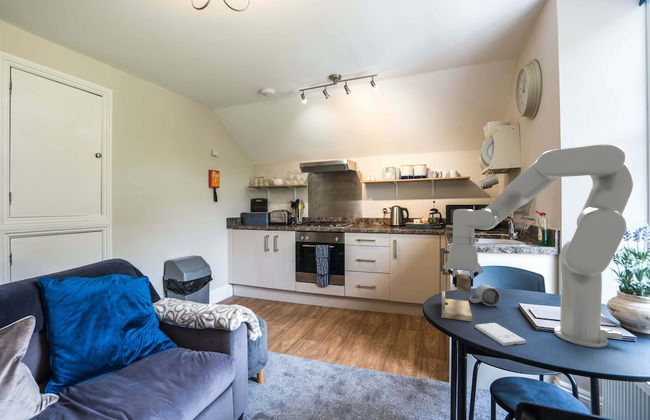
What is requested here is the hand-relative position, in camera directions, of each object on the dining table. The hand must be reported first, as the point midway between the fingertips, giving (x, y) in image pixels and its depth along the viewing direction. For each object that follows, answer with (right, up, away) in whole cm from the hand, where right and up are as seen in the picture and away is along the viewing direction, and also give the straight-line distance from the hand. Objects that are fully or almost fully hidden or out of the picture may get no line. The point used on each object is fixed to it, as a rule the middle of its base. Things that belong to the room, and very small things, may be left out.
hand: (462, 286), depth 109 cm
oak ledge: (-1, -10, +2) cm, 11 cm away
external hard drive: (+4, -12, -17) cm, 21 cm away
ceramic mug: (+15, -10, +11) cm, 21 cm away
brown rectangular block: (0, 0, 0) cm, 0 cm away
